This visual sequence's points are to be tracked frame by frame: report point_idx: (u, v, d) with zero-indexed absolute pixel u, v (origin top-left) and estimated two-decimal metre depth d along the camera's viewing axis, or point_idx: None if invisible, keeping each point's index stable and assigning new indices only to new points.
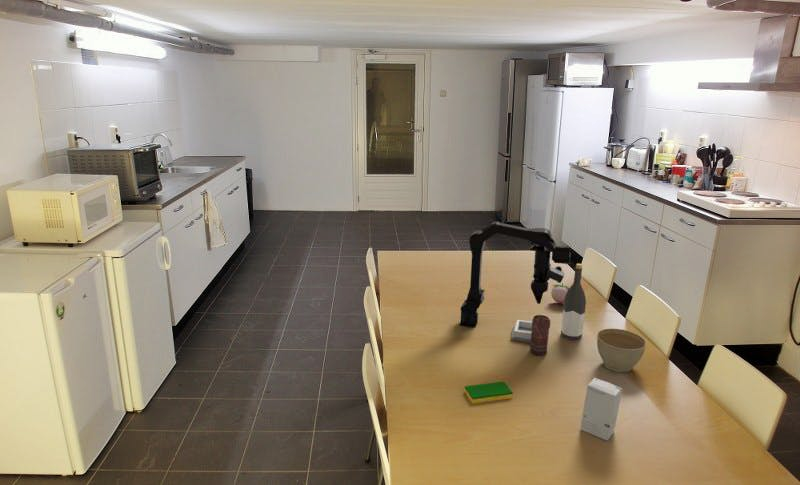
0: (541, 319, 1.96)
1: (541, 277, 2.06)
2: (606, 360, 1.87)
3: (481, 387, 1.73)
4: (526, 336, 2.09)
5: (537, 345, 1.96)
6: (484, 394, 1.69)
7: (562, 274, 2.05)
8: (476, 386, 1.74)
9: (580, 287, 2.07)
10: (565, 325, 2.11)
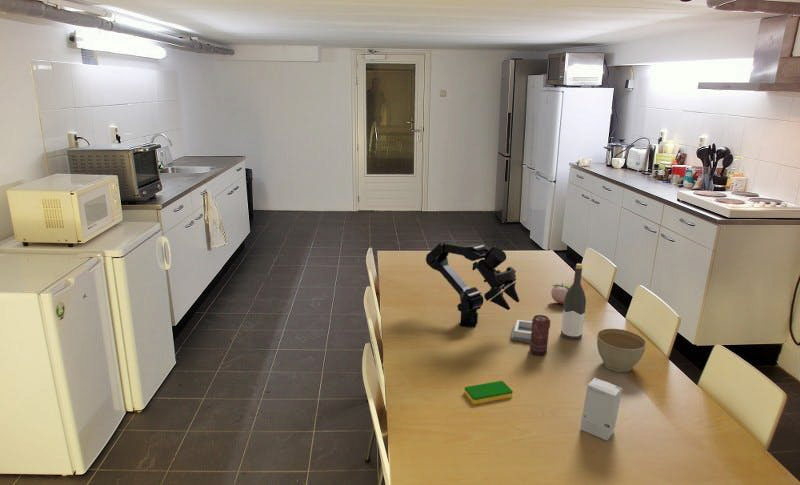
0: (541, 319, 1.96)
1: (495, 286, 2.07)
2: (606, 360, 1.87)
3: (481, 387, 1.73)
4: (526, 336, 2.09)
5: (537, 345, 1.96)
6: (485, 394, 1.69)
7: (509, 271, 2.04)
8: (476, 386, 1.73)
9: (580, 287, 2.07)
10: (565, 325, 2.11)
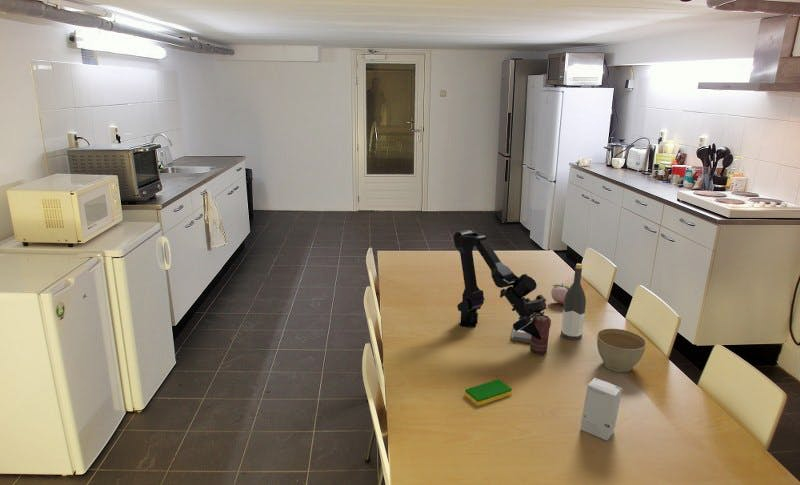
0: (542, 318, 1.96)
1: (524, 315, 1.97)
2: (606, 360, 1.87)
3: (481, 388, 1.72)
4: (526, 336, 2.09)
5: (538, 345, 1.96)
6: (487, 395, 1.69)
7: (539, 300, 1.94)
8: (476, 388, 1.73)
9: (580, 287, 2.07)
10: (565, 325, 2.11)
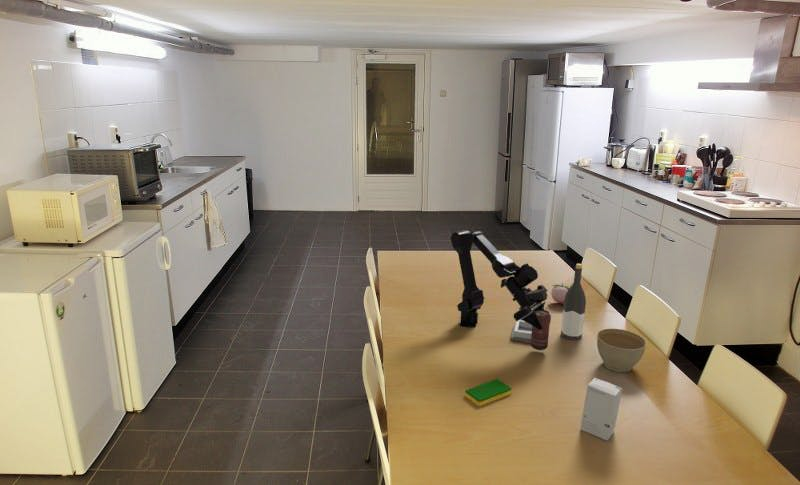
0: (542, 314, 1.95)
1: (525, 305, 1.96)
2: (606, 360, 1.87)
3: (481, 388, 1.72)
4: (526, 336, 2.09)
5: (538, 340, 1.96)
6: (488, 395, 1.69)
7: (540, 290, 1.93)
8: (476, 388, 1.72)
9: (580, 287, 2.07)
10: (565, 325, 2.11)
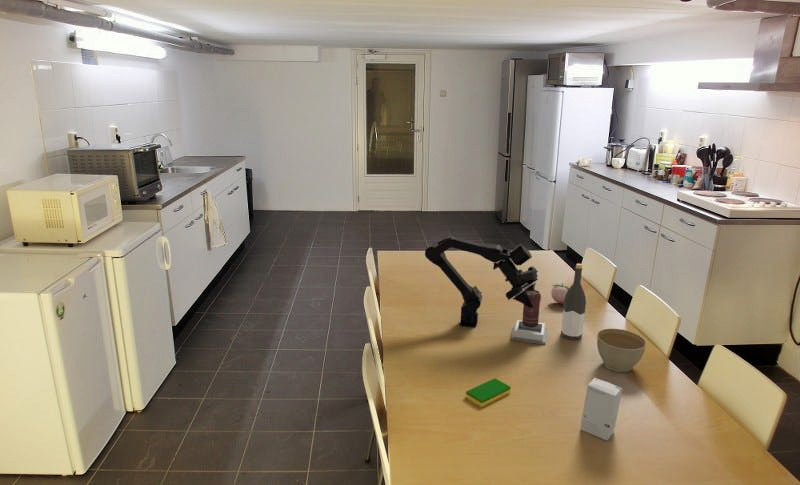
0: (532, 293, 2.08)
1: (516, 285, 2.09)
2: (606, 360, 1.87)
3: (481, 389, 1.72)
4: (526, 336, 2.09)
5: (529, 318, 2.09)
6: (489, 395, 1.69)
7: (531, 271, 2.06)
8: (476, 389, 1.72)
9: (580, 287, 2.07)
10: (565, 325, 2.11)
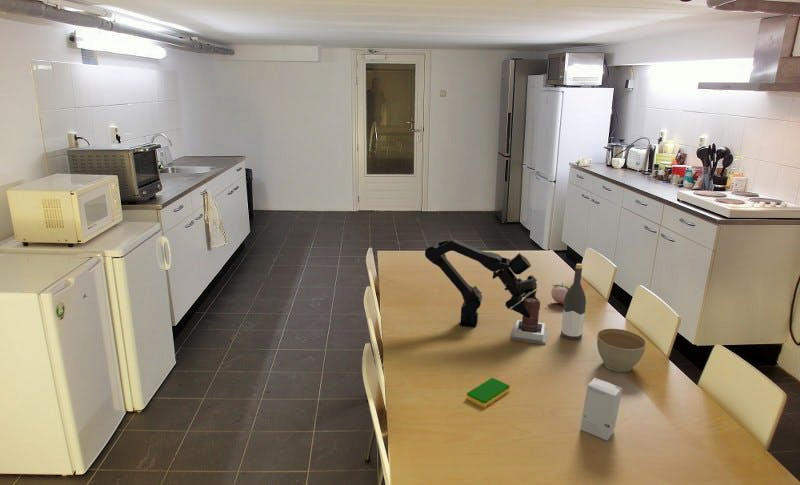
0: (532, 301, 2.10)
1: (516, 294, 2.10)
2: (606, 360, 1.87)
3: (481, 389, 1.72)
4: (526, 336, 2.09)
5: (528, 325, 2.10)
6: (490, 395, 1.69)
7: (530, 280, 2.07)
8: (476, 390, 1.71)
9: (580, 287, 2.07)
10: (565, 325, 2.11)
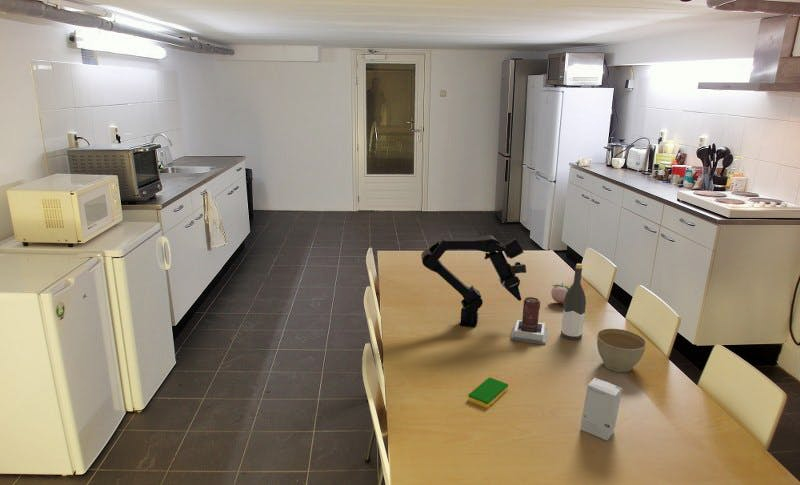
0: (532, 301, 2.10)
1: (508, 276, 2.13)
2: (606, 360, 1.87)
3: (481, 390, 1.71)
4: (526, 336, 2.09)
5: (528, 325, 2.10)
6: (492, 395, 1.69)
7: (523, 264, 2.15)
8: (477, 390, 1.71)
9: (580, 287, 2.07)
10: (565, 325, 2.11)
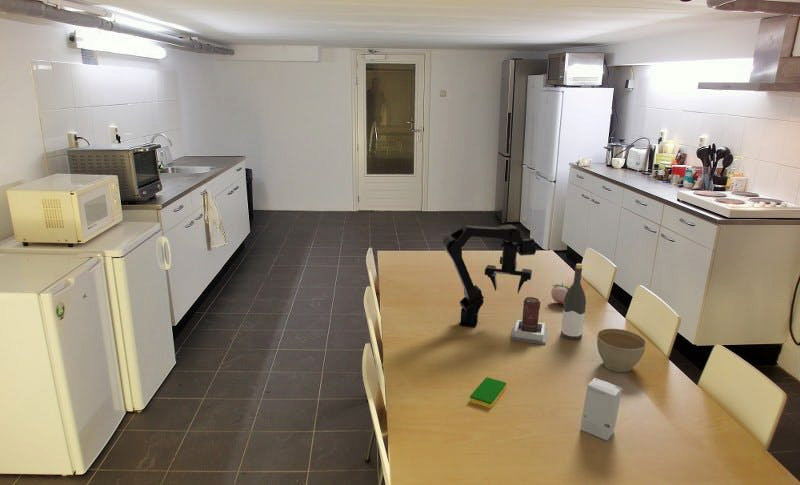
0: (532, 301, 2.10)
1: (515, 269, 2.20)
2: (606, 360, 1.87)
3: (482, 390, 1.71)
4: (526, 336, 2.09)
5: (528, 325, 2.10)
6: (493, 395, 1.69)
7: None
8: (477, 391, 1.71)
9: (580, 287, 2.07)
10: (565, 325, 2.11)
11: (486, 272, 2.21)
